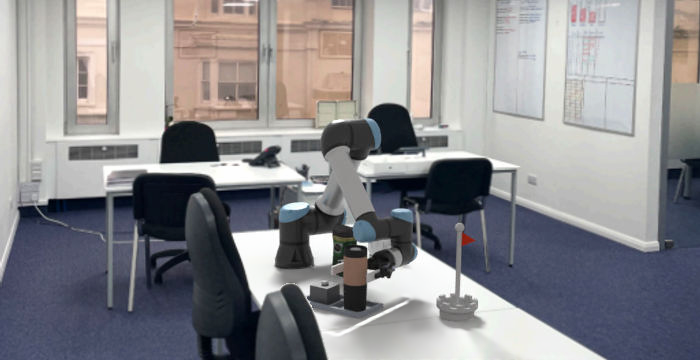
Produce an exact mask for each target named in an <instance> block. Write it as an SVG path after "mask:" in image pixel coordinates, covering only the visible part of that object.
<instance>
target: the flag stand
mask: <svg viewBox="0 0 700 360" xmlns="http://www.w3.org/2000/svg"><path fill="white" fill-rule="evenodd" d="M454 230H455V231H456V254H455V256H456V258H455V261H456V262H455V285H454V286H455V287H454V288H455V289H454V292H450V293H449V296H447V295H446V294H444V293H442V294H440V295H438V297H436V308H437V309H438V312H439V314H438V315H439V317H440V318H442V319H444V320H447V321H453V322H467V321H471V320H474V318H475V312H476V311H477V310H478V308H479V299H478V297H473V295H470V294H467V293H466V294H464V296H461V277H462V276H461V275H462V273H461V271H462V247H463V246H465V245H468V244H470V243H473V242H476V239H474V238H472V237H471V236H469V235H467V234H465V233H464V230H465V225H464V224H463V223H462V222H458V223H456V224H455V226H454Z"/></svg>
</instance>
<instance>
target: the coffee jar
mask: <svg viewBox="0 0 700 360" xmlns="http://www.w3.org/2000/svg"><path fill="white" fill-rule="evenodd" d="M331 235H332V243H333V244H332V246H333V247H332V263H331V266H334V265H337V264H338V260H344V247H345V246H348V245H358V241H356V239H355V238H354V236H353V226H351V225H350V226H349V225H346V224H345V225H343V224H342V225H336V226H334V228H333V232H332V233H331ZM334 276H339V277H341V278H343V272H340V273H338V274H335V275H334Z"/></svg>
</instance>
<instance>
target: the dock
mask: <svg viewBox="0 0 700 360" xmlns="http://www.w3.org/2000/svg"><path fill="white" fill-rule="evenodd" d="M305 296H306V297H307V299H308V301H309V302H310V304H311V305H312V307H311V308H313V309H318V310H322V311H326V312H329V313H334V314H338V315H342V316H347V317H350V318H355V319H359V320H362V319H363V318H365V317H367V316H369V315H372V314H373V313H376V312H379V311H380V310H382V309H384V303H382V302H378V301H375V300H369V299H367V300H366V310H364V311H361V312H355V311H350V310H346V309H344V295H343V293H340V300H339V301H337V302H335V303H332V304H330V305H325V304H321V303H317V302H313V301H310V293H309V294H305Z"/></svg>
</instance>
